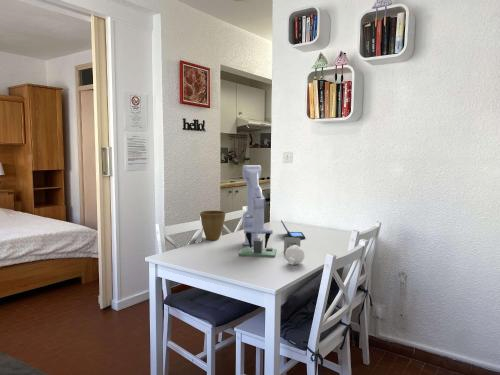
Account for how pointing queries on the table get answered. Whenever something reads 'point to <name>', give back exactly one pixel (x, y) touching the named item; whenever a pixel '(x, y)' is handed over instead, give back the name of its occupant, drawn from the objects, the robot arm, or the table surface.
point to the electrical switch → (291, 242)
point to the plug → (258, 245)
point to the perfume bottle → (294, 254)
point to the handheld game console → (294, 233)
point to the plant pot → (212, 223)
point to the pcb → (265, 253)
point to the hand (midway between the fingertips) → (258, 247)
